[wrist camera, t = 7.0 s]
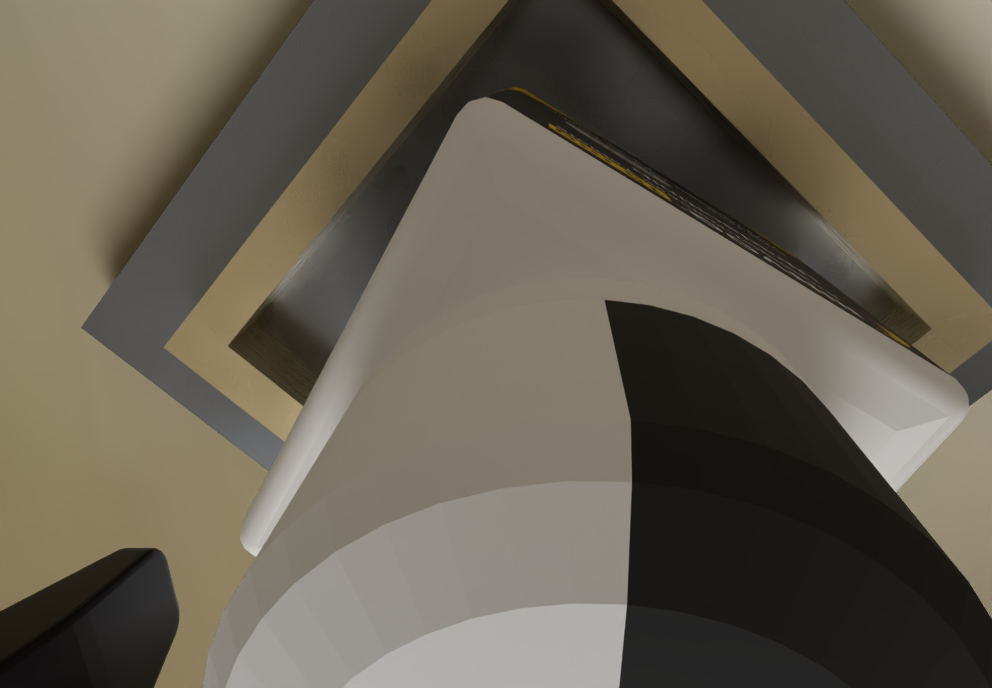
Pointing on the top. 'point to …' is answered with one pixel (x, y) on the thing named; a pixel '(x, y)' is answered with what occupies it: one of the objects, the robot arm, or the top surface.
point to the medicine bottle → (599, 454)
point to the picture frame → (591, 102)
